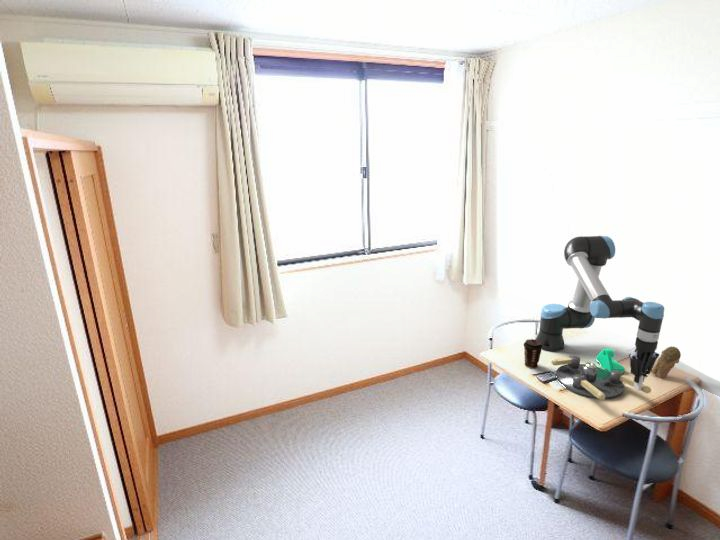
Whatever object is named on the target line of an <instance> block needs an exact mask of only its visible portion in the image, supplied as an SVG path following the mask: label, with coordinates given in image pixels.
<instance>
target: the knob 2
mask: <svg viewBox="0 0 720 540" xmlns="http://www.w3.org/2000/svg"><path fill="white" fill-rule="evenodd" d="M610 382H611V383H613V384H618V385H620V384H622V382H623V383H624V384H627V385H629V386H630V387H632V388H634V378H631V377H629V376H627V375H625V374H624V372H621V371H618V370H612V371H611V374H610ZM640 391H641V392H643V393H644V394H650V393H651V392H652V388H651V387H650V386H648V385H646V384H642V389H641V390H640Z"/></svg>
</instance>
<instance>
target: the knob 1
mask: <svg viewBox="0 0 720 540" xmlns="http://www.w3.org/2000/svg"><path fill="white" fill-rule="evenodd" d="M573 387H575V388H577V389H584V388H585V389H587V390H588V391H589V392H590V393H592V394H593V395H594V396H595V397H597V398H598V399H597V400H600V401H604V400H606V399H605V394H604V393H602V392H601V391H600V390H598V389H597V388H596V387H594V386H593V385H592V384H590V383H589V382H588V381H586V377H585V376H583V375H579V374H576V375H574V377H573Z"/></svg>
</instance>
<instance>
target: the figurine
mask: <svg viewBox="0 0 720 540" xmlns="http://www.w3.org/2000/svg"><path fill="white" fill-rule="evenodd" d="M681 357H682V355H681V350H679V348H678V347H676V346H669V347H667V348H665V349H663V350H662V351H661V355H660V357H658V358H657V360H656V363H655V364H654V365H655V366H653V368H652V370H651V373H652V374H655V375H656V376H657V377H658V378H667V376H668V374H669V373H670V372H671V370H672V369H673V368H674V367H675V365H676V364H679V363H680V359H681Z"/></svg>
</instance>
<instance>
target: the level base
mask: <svg viewBox="0 0 720 540" xmlns="http://www.w3.org/2000/svg"><path fill="white" fill-rule="evenodd" d="M576 374H579V375H583V376H585V377H586V381H588V382H589V383H590V384H592V385H593V386H594V387H596V388H597V389H598V390H600V391H601V392H602V393H604V394H605V399H604V400H613V399H617V398H619V397H620V396H622V394H623V392H624V389H625V387H624V386H625V385H624V384H625V383H624V382H622V384H620V385H618V384H613V383H611V382H610V374H611V372H609V371H608V370H605V369H603V368H602V367H598V366H597V364H596V363H593V362H591V361H589V362H585V363H584V364H583V363H580V365H579V368H578V369H573V368H570V367H569V366H568V364H564V365H560V366H559V367H558V368H557V369H556V371H555V377H556V376H557V379H558V381H559V382H560V383H561V384H563V385H564V386H565V387H566V390H567V391H569V392H571V393H573V394H575V395H578V396H582V397H584V398H589V399H593V400H596V399H597V400H599V399H598V398H597V397H595V396H594V395H593V394H592V393H590V392H589V391H588V390H587V389H585V388H584V389H577V388H575V387H573V377H574V375H576ZM558 381H557V382H558Z"/></svg>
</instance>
